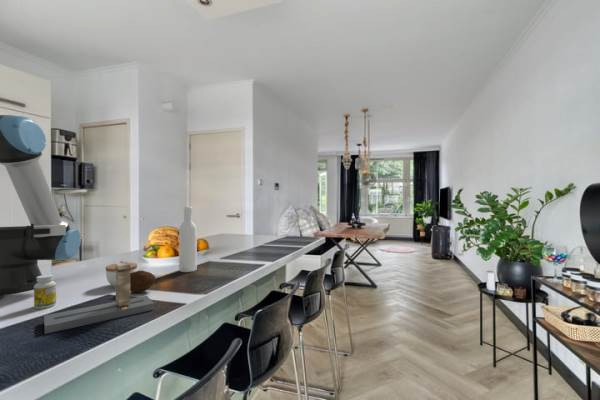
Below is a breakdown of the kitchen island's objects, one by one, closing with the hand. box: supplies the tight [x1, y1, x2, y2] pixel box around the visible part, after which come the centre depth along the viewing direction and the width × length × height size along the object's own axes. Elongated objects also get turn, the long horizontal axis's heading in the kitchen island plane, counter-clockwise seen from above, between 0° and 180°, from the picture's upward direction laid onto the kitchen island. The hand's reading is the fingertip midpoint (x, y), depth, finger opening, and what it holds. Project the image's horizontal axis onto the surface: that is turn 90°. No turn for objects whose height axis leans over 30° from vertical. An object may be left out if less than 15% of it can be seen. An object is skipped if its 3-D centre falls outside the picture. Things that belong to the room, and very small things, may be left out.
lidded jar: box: [105, 260, 138, 288], centre depth 119 cm, size 11×11×9 cm
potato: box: [130, 270, 157, 293], centre depth 111 cm, size 7×10×8 cm
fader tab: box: [115, 261, 131, 307], centre depth 92 cm, size 3×5×12 cm, turn 41°
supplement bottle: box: [33, 274, 57, 310], centre depth 96 cm, size 5×5×10 cm
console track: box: [43, 295, 155, 335], centre depth 89 cm, size 26×9×2 cm, turn 131°
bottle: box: [178, 206, 198, 273], centre depth 143 cm, size 8×8×30 cm
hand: (65, 229), depth 83 cm, fingers closed
